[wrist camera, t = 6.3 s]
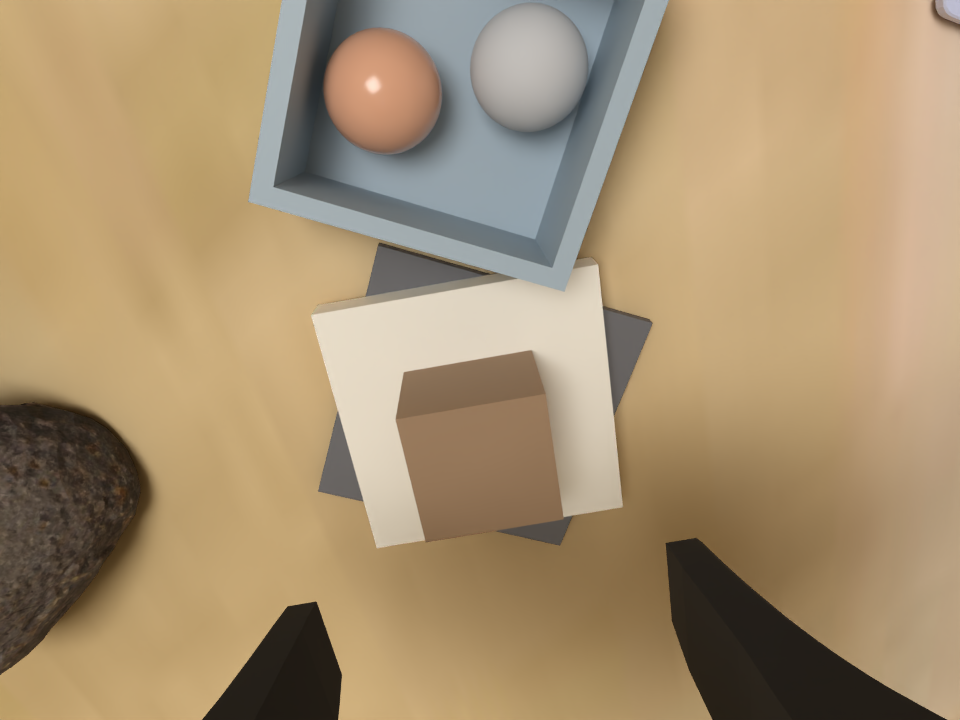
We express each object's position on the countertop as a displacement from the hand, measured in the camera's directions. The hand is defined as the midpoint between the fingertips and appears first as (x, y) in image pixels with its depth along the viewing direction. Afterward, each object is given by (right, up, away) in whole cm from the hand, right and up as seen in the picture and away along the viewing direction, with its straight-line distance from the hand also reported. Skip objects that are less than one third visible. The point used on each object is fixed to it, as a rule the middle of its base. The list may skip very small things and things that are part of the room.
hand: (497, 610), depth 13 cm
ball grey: (+1, +13, +5) cm, 14 cm away
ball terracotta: (-3, +13, +5) cm, 14 cm away
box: (-1, +13, +5) cm, 14 cm away
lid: (0, +4, +8) cm, 9 cm away
